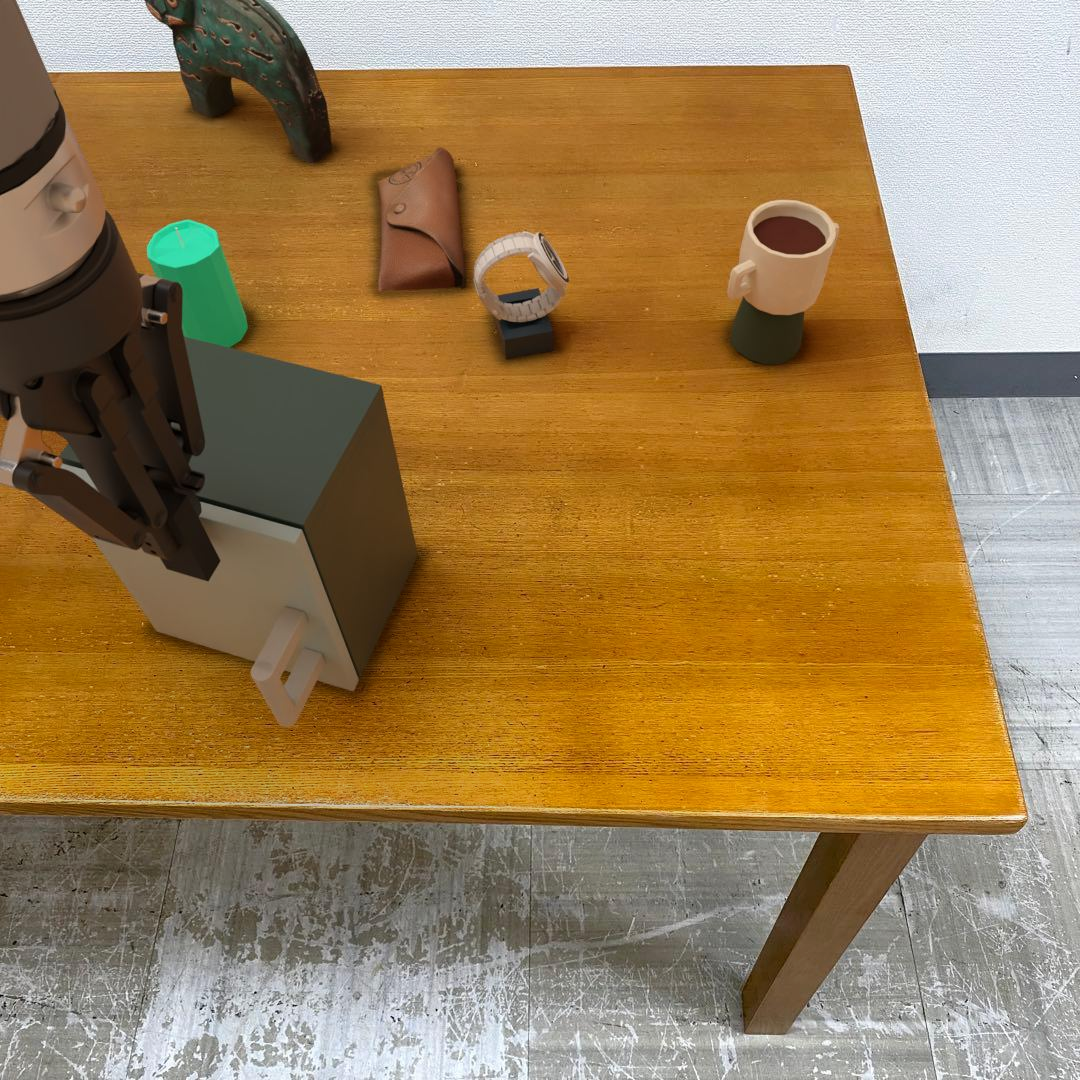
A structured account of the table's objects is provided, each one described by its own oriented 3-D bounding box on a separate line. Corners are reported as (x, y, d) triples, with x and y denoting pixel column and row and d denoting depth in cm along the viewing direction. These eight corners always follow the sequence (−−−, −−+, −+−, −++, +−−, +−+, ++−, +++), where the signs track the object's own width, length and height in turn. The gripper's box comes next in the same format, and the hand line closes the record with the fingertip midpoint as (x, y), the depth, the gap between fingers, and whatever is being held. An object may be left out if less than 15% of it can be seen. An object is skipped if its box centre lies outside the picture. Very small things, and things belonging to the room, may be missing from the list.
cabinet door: (324, 760, 70) (251, 621, 54) (121, 695, 73) (-7, 545, 57) (360, 682, 73) (302, 529, 57) (165, 623, 76) (56, 461, 60)
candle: (222, 366, 91) (180, 262, 81) (170, 343, 92) (123, 238, 82) (263, 324, 94) (228, 218, 84) (212, 302, 95) (172, 196, 85)
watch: (574, 352, 91) (576, 255, 82) (486, 368, 90) (478, 272, 81) (559, 309, 94) (559, 211, 85) (474, 324, 93) (465, 227, 84)
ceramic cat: (176, 115, 112) (109, -78, 95) (219, 86, 115) (161, -106, 98) (309, 179, 105) (263, -15, 89) (351, 147, 108) (313, -47, 91)
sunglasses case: (371, 176, 104) (397, 124, 100) (433, 200, 108) (461, 150, 103) (376, 298, 94) (405, 246, 90) (445, 320, 98) (476, 271, 93)
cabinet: (361, 681, 73) (303, 525, 57) (167, 621, 76) (57, 456, 60) (419, 559, 79) (381, 385, 62) (236, 508, 82) (154, 328, 65)
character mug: (786, 298, 94) (815, 179, 84) (837, 345, 91) (874, 228, 80) (691, 343, 91) (708, 226, 81) (739, 394, 88) (764, 279, 77)
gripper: (-5, 385, 35) (196, 681, 55) (183, 157, 42) (301, 494, 61) (-184, 336, 36) (75, 642, 56) (26, 123, 43) (191, 463, 63)
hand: (193, 564), depth 59 cm, fingers closed
